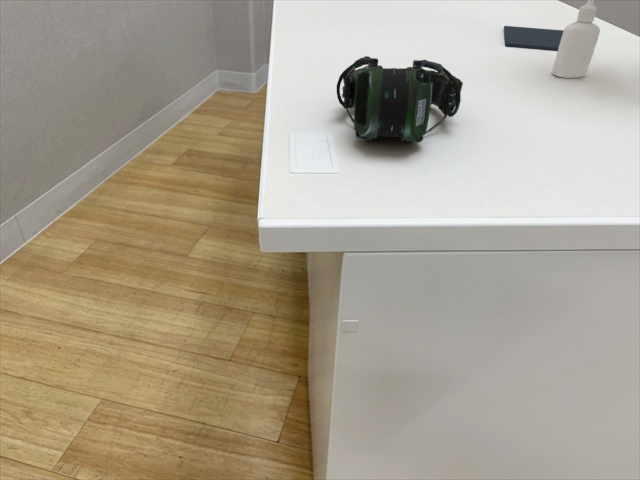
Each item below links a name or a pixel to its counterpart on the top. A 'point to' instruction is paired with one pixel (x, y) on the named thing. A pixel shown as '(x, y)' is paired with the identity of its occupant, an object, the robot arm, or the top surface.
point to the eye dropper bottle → (577, 44)
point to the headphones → (397, 98)
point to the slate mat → (532, 38)
